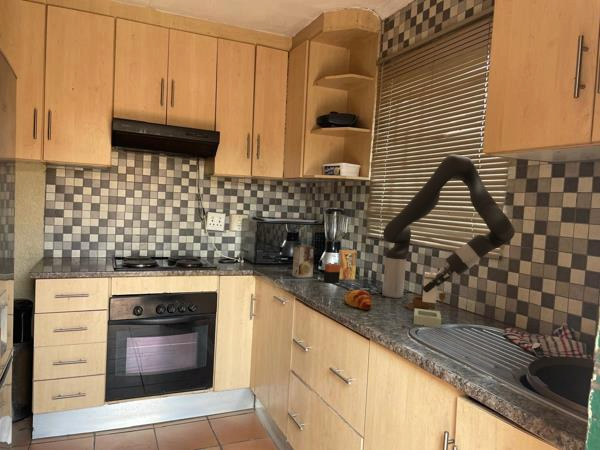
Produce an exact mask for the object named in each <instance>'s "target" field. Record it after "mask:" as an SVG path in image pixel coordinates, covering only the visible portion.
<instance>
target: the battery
mask: <svg viewBox="0 0 600 450" xmlns="http://www.w3.org/2000/svg"><path fill="white" fill-rule="evenodd" d="M323 276H324V277H323V278H324V279H323V282H325V283H327V284H339V283H340V279H339V277H340V265H338V262H333V263H332V262H328V263H325V264H324V274H323Z"/></svg>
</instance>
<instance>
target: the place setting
mask: <svg viewBox="0 0 600 450" xmlns="http://www.w3.org/2000/svg"><path fill="white" fill-rule="evenodd" d="M422 298H423V296H414V297H412V302H407V303H405V307H406V309H408V310H409V311H412V312H414V309H415V308H416V309H424V310H428V309H429V310H432V311H437V307H436V306H434V305H431V303H430V302H423V301H422ZM438 299H439V300H440V303H439V304H440V305H439V307H443V302H444V300H445V299H446V293H443V292H439V294H438Z"/></svg>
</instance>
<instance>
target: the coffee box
mask: <svg viewBox="0 0 600 450" xmlns="http://www.w3.org/2000/svg"><path fill="white" fill-rule="evenodd" d="M293 246H294V247H293V261H292V276H293V277H295V278H312V277H313V274H314V273H313V272H314V271H313V270H314V259H315V257H314V256H315V246H312V245H293Z"/></svg>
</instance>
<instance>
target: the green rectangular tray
mask: <svg viewBox="0 0 600 450" xmlns="http://www.w3.org/2000/svg"><path fill="white" fill-rule="evenodd" d="M414 308H415V307H414ZM441 315H442V314H441V311H438V310H436V311H432V309H426V310H424V309H416V308H415V309H414V311H413V325H417V326H423V325H424V326H425V327H431V328H439V329H441V328H442V320H443V319H442V316H441ZM424 326H423V327H424Z"/></svg>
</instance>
